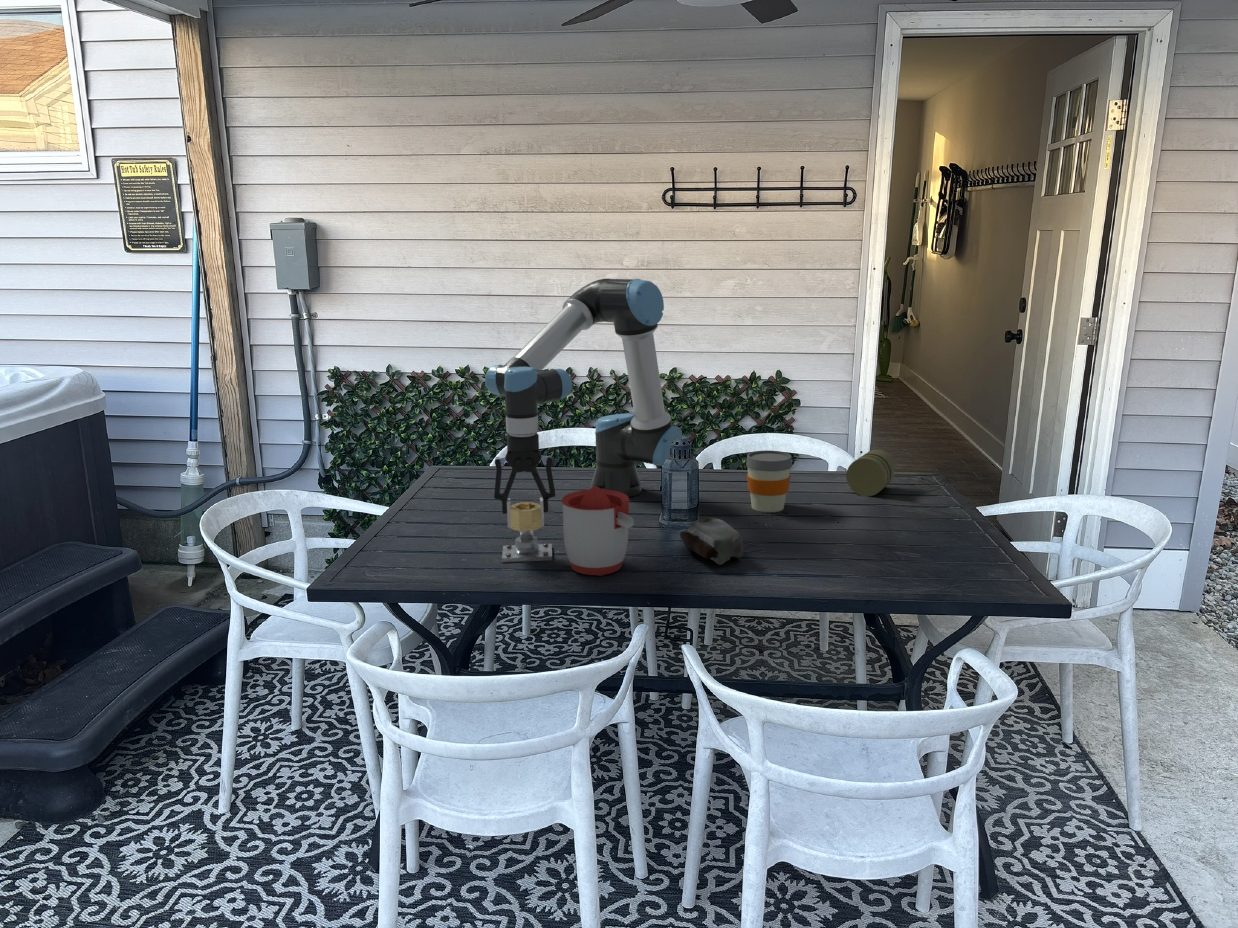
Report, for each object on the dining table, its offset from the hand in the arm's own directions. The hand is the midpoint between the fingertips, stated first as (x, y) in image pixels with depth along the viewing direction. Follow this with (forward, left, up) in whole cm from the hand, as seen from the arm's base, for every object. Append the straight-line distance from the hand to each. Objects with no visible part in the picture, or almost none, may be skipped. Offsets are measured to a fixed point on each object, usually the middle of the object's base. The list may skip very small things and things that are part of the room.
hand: (526, 525), depth 226 cm
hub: (0, 0, 0) cm, 0 cm away
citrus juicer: (-17, +11, -8) cm, 22 cm away
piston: (-101, -42, -8) cm, 110 cm away
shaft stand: (0, 0, -8) cm, 8 cm away
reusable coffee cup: (-67, -30, -8) cm, 74 cm away
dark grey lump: (-44, +6, -8) cm, 45 cm away
